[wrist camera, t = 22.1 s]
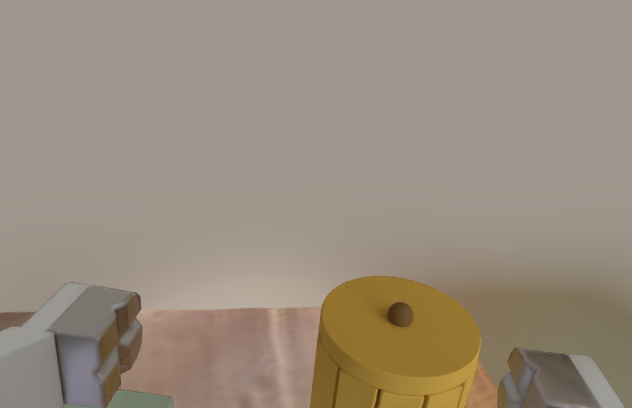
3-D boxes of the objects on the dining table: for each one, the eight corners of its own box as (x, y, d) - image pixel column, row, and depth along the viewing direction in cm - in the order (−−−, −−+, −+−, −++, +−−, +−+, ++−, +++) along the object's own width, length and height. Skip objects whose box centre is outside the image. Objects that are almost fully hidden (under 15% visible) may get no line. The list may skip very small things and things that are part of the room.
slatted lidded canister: (441, 570, 20) (506, 373, 15) (293, 548, 20) (316, 348, 16) (417, 401, 28) (455, 241, 24) (312, 387, 28) (331, 226, 24)
